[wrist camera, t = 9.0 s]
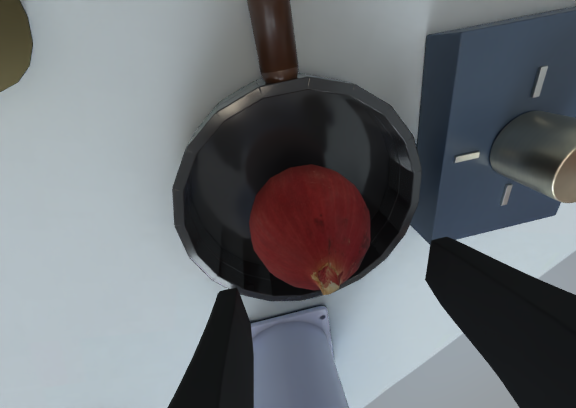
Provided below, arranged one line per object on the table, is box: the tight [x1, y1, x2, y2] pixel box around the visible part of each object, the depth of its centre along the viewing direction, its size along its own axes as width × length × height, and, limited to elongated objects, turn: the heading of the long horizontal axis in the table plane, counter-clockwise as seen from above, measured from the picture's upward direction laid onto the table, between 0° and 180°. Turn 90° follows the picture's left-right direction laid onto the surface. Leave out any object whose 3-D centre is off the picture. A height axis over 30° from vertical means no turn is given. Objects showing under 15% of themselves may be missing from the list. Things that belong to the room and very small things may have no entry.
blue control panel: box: [410, 6, 576, 245], centre depth 16 cm, size 12×9×3 cm
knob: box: [490, 111, 576, 203], centre depth 13 cm, size 4×4×4 cm
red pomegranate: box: [249, 164, 370, 295], centre depth 13 cm, size 6×6×8 cm
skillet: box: [172, 73, 422, 301], centre depth 15 cm, size 13×13×3 cm
